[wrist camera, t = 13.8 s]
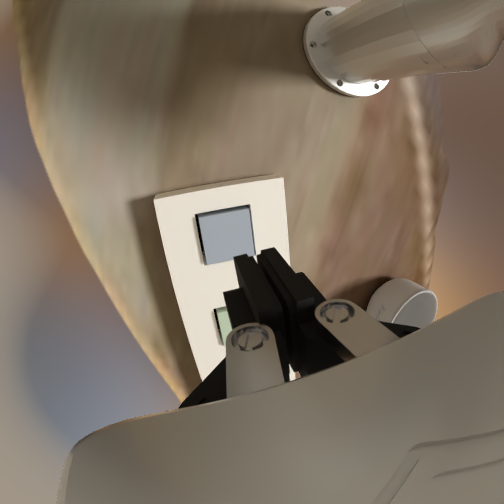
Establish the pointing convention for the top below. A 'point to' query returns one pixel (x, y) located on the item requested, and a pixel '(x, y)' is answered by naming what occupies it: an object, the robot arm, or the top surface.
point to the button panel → (223, 273)
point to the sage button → (223, 322)
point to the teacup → (403, 303)
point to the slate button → (226, 233)
